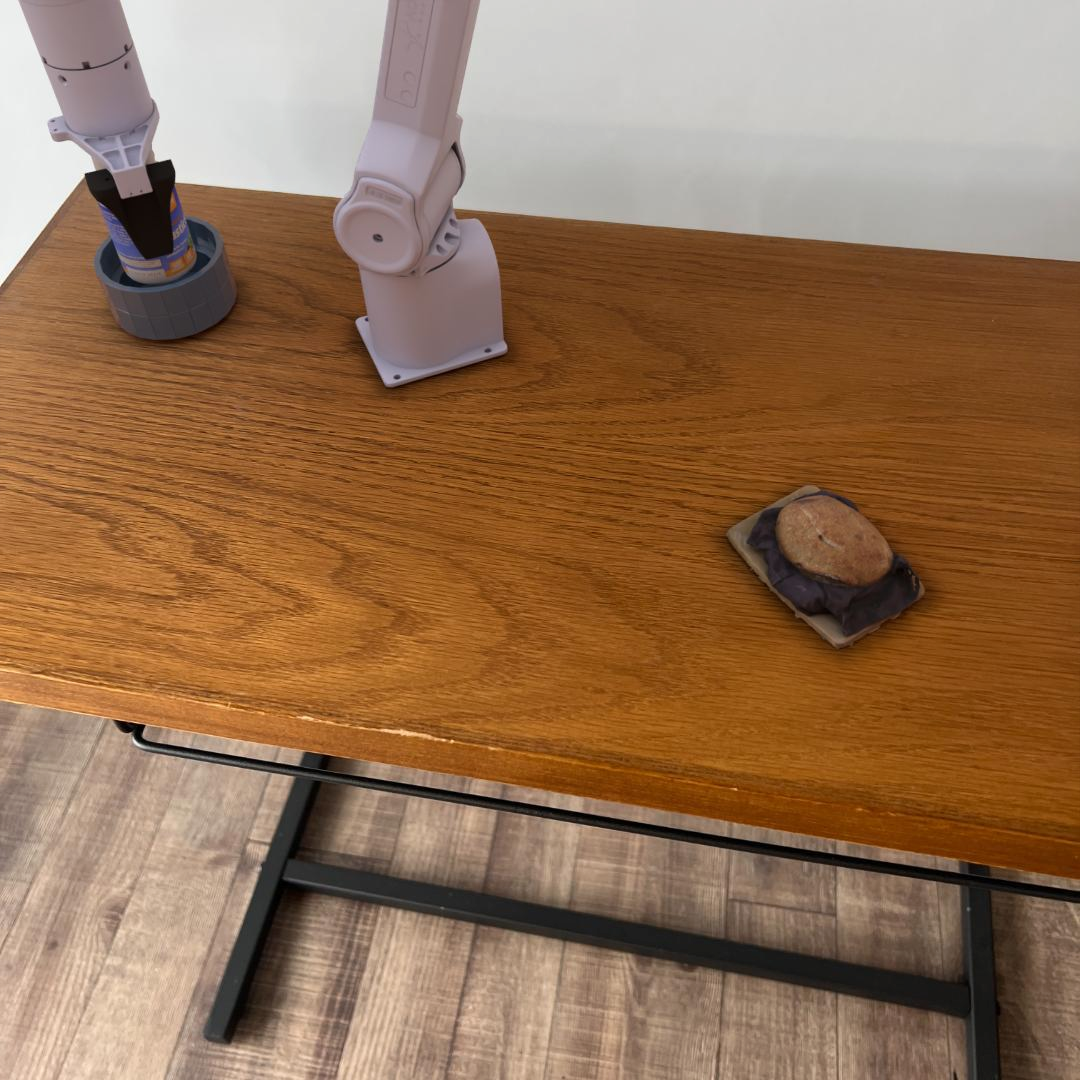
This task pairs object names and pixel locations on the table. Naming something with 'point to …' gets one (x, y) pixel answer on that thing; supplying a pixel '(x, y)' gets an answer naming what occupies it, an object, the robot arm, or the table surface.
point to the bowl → (171, 290)
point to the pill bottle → (159, 267)
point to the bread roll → (827, 564)
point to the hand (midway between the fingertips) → (151, 230)
